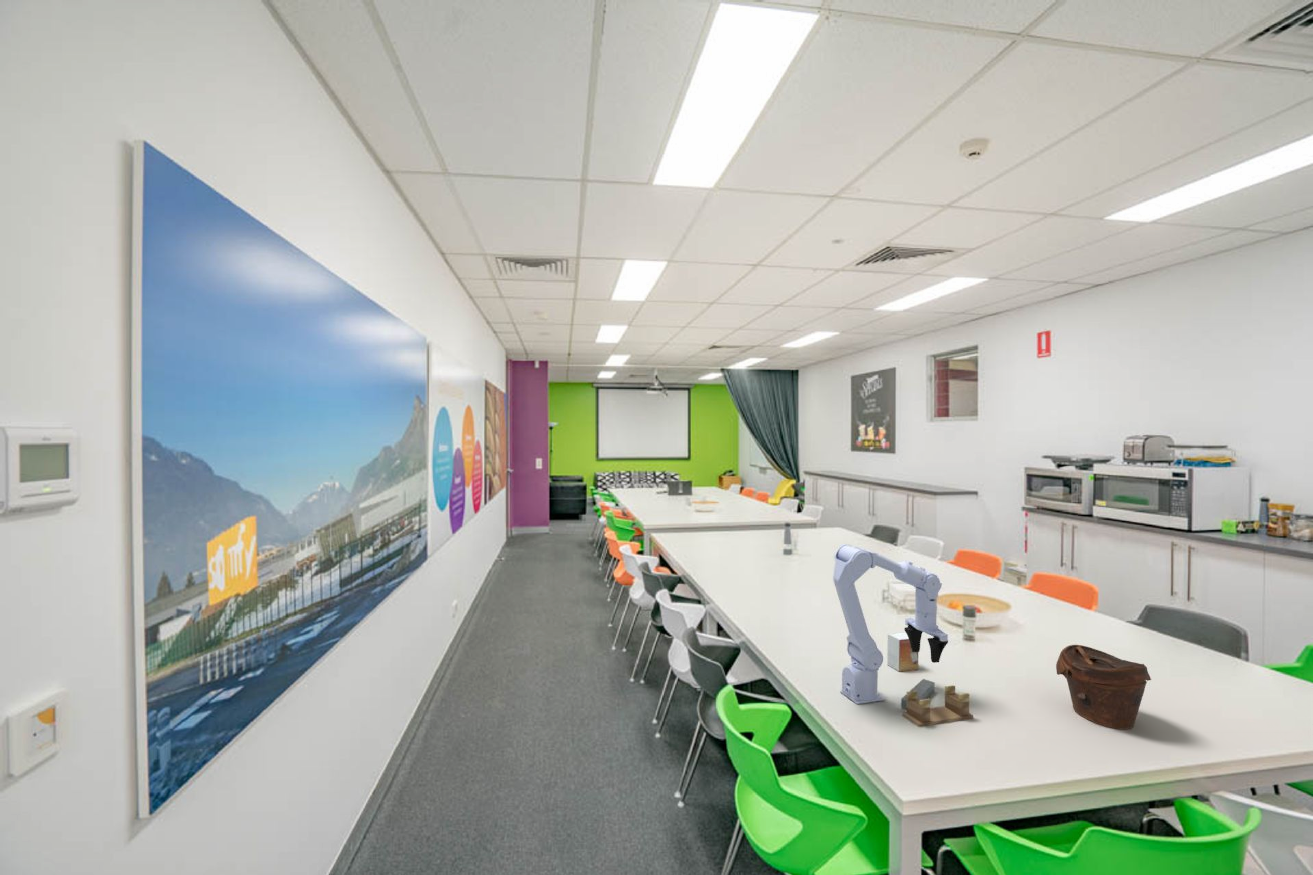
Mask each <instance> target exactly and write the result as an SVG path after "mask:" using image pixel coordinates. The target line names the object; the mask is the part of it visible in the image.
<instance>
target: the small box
mask: <svg viewBox="0 0 1313 875" xmlns="http://www.w3.org/2000/svg"><path fill="white" fill-rule="evenodd" d="M886 655H887V657H886V658H887V659H886V660H887V662H886V663H887V666H889V667H890V668H892V669H894V670H895V671H897V672H903V671H917V670H919V652H912V648H911V644H910V641H909V638H908V636H907V634H906V632H902V633H901V632H899V633H888V634H887V654H886Z"/></svg>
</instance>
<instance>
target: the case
mask: <svg viewBox="0 0 1313 875" xmlns="http://www.w3.org/2000/svg"><path fill="white" fill-rule="evenodd" d="M1055 668H1056V675H1058V676H1059V675H1062V676H1064V678H1065V679H1066V681H1067V685H1068V690H1069V695H1070V699H1071V703H1072V708H1073V710H1074V711H1075V713H1077V714H1078V715H1079V716H1081V717H1083V718H1084V719H1086V720H1087V721H1090V722H1093V723H1095V724H1098V725H1101V726H1104V727H1107V728H1112V729H1119V730H1127V729H1132V728H1133V727H1134V726H1135V723H1136V720H1137V717H1138V713H1139V711H1140V707H1141V704H1142V703H1141V702H1142V699H1143V696H1144V693H1145V688H1146V686H1147V683H1148V681H1151V680H1152V678H1151V676H1150V673H1149V671H1148V668H1147V665H1145V664H1144V663H1139V662H1133V661H1129V660H1126V659H1121V658H1119V657H1116V656H1115V655H1112V654H1110V653H1108V652H1105V651H1102V650H1099V649H1096V648H1094V647H1093V648H1092V647H1089V646H1086V645H1082V644H1070V645H1067V646H1065V647H1064V648H1063V649H1062V650H1061V651H1060V653H1059V656H1058V658H1057V661H1056V664H1055Z"/></svg>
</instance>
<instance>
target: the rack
mask: <svg viewBox="0 0 1313 875" xmlns="http://www.w3.org/2000/svg"><path fill="white" fill-rule="evenodd" d="M906 694H907V708H906V711H903V712H902V713H901V715H902V716H903V717H904V718H906V719H907V721H909V722H911V723H912V724H914V725H916V726H917V727H919V728H921V727H928V726H933V725H940V724H944V723H945V724H946V723H951V722H958V721H965V720H969V719H974V714H972V713H970V693H969V692H966V693H965V692H964V693H959V694H957V693H956V685H954V684H953V685H947V686H944V705H942V706H937V707H931V699H930V698H928V699H922V700H918V699H917V691H911V690H909V691H906Z"/></svg>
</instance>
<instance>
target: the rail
mask: <svg viewBox="0 0 1313 875" xmlns="http://www.w3.org/2000/svg"><path fill="white" fill-rule="evenodd" d="M910 691H917V699H918V700H922V699H930V697H931V696H932V695H933V694H934V693H935V691H936V690H935V681H931V680H928V679H925V678H922V679H921V680H920V682H918V683H917V684H916V685H915V686H914V687H913V688H911V690H910ZM900 700H901V702H900V703H901V704H900V705H901V710H903V711H904V712H906V708H907V693H905V695H904V696H903V697H902V698H901V699H900Z"/></svg>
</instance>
